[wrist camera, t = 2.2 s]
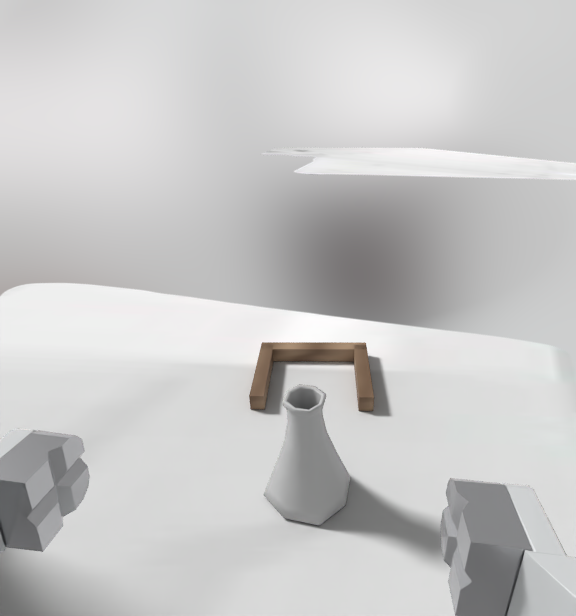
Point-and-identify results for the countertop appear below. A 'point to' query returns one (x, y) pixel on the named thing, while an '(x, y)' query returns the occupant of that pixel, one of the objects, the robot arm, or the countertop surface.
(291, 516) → the flask
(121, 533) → the countertop surface
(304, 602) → the countertop surface
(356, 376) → the dock
